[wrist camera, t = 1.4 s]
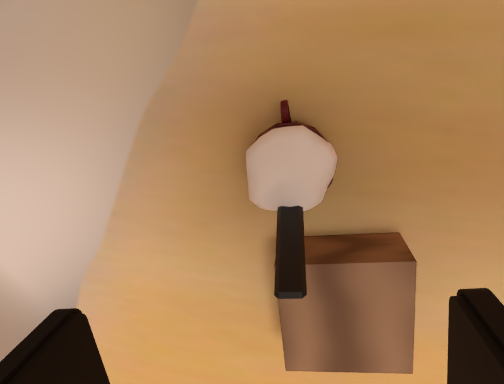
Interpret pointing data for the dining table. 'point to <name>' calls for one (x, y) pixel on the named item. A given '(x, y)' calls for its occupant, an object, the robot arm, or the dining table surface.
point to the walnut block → (353, 306)
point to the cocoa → (289, 191)
